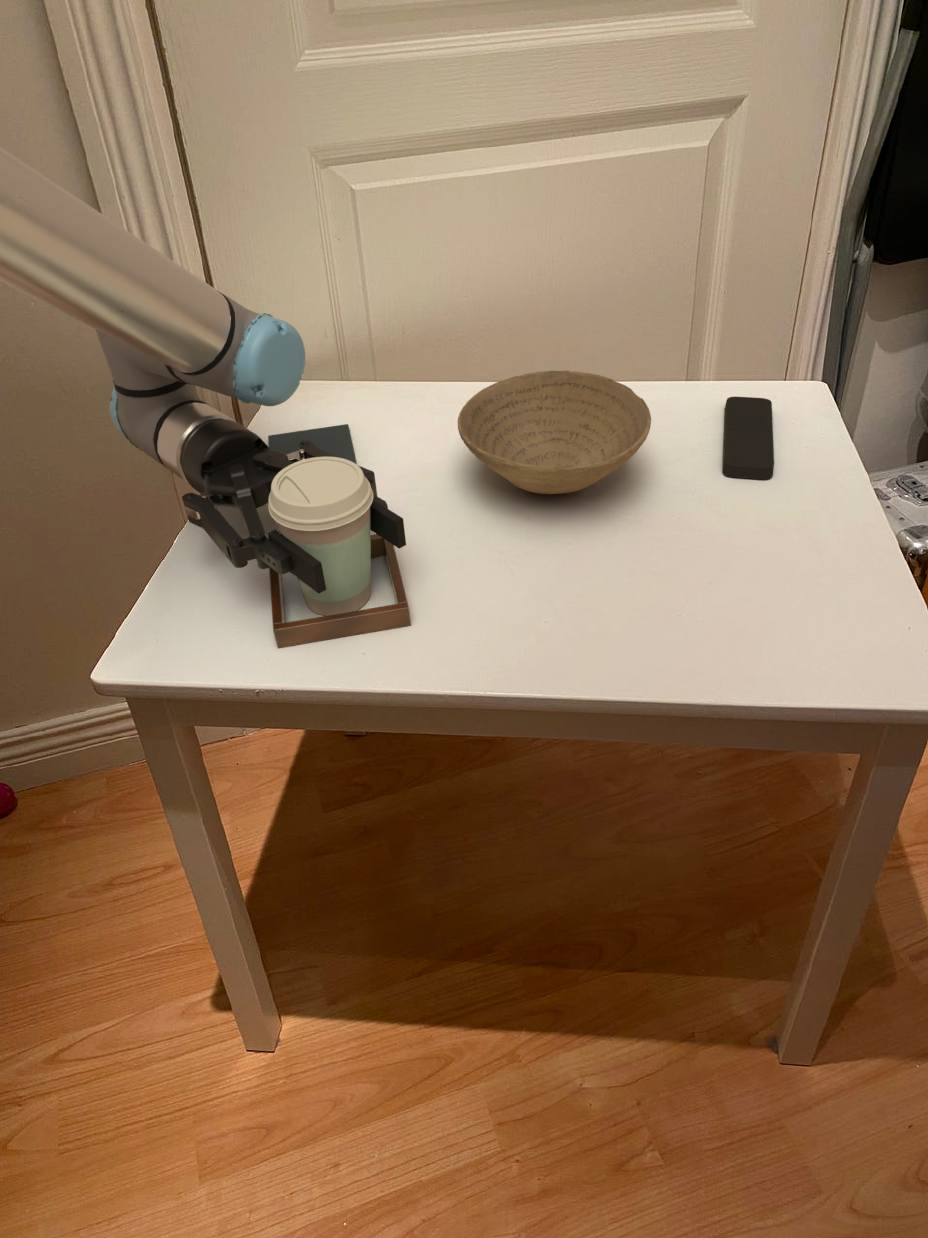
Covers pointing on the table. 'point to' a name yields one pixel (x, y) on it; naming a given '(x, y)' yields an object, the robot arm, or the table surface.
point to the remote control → (748, 438)
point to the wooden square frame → (344, 621)
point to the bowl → (554, 429)
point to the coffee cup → (328, 527)
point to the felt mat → (317, 441)
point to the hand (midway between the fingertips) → (361, 555)
